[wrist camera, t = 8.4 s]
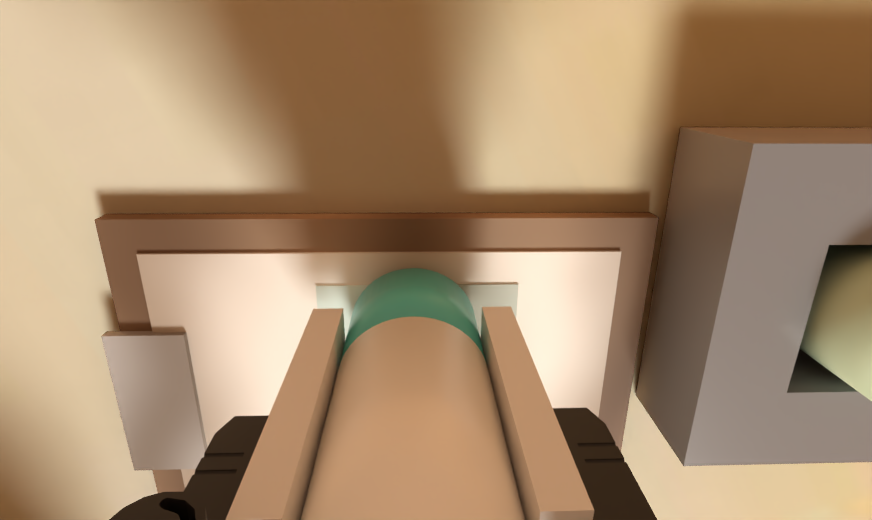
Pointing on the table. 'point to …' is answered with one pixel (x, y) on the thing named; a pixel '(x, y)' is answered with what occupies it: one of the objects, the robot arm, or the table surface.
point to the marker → (413, 413)
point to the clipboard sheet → (351, 306)
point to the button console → (754, 296)
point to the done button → (843, 317)
